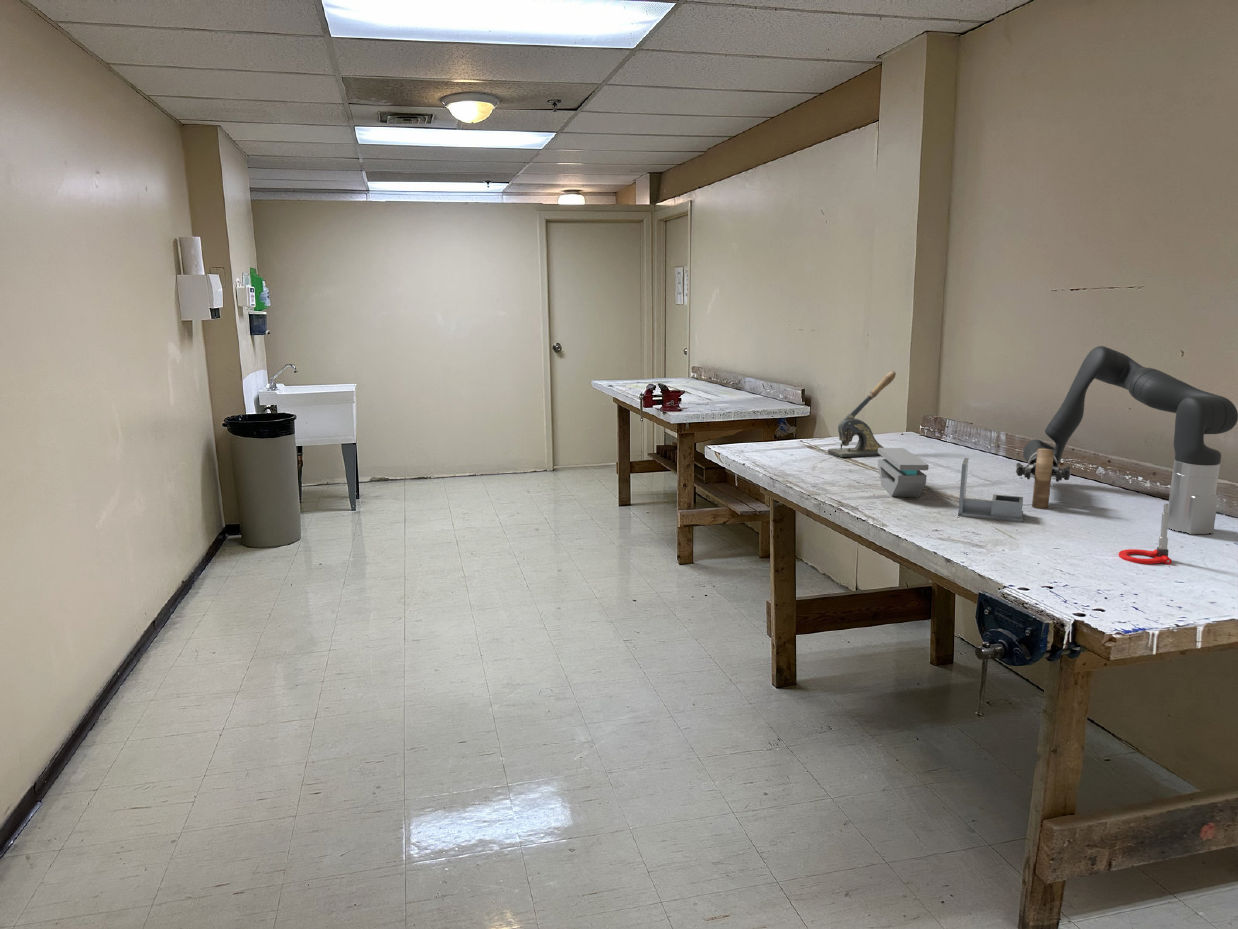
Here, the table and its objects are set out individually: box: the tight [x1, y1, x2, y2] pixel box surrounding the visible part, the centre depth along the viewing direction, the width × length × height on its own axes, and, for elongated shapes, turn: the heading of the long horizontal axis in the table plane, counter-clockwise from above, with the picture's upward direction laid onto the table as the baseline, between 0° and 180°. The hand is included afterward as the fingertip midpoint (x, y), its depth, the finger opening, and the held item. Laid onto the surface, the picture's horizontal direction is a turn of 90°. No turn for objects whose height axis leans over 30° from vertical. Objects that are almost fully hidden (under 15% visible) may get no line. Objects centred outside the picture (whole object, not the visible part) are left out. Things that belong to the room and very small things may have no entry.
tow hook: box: [1118, 502, 1173, 565], centre depth 183 cm, size 8×13×9 cm
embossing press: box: [826, 370, 897, 458], centre depth 298 cm, size 11×24×30 cm, turn 103°
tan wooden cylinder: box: [1031, 449, 1054, 510], centre depth 225 cm, size 4×4×16 cm
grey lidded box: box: [877, 447, 929, 497], centre depth 244 cm, size 25×8×11 cm, turn 177°
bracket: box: [957, 457, 1024, 523], centre depth 218 cm, size 9×16×14 cm, turn 64°
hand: (1043, 476), depth 223 cm, fingers open, 6 cm apart
